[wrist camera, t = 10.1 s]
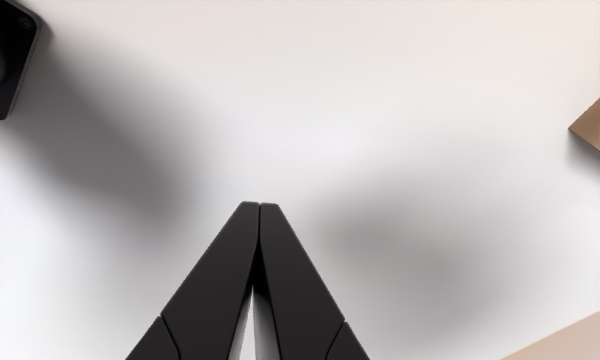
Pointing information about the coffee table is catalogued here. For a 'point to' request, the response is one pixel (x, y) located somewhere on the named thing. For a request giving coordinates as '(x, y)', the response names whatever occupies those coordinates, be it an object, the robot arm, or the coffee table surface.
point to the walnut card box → (589, 125)
